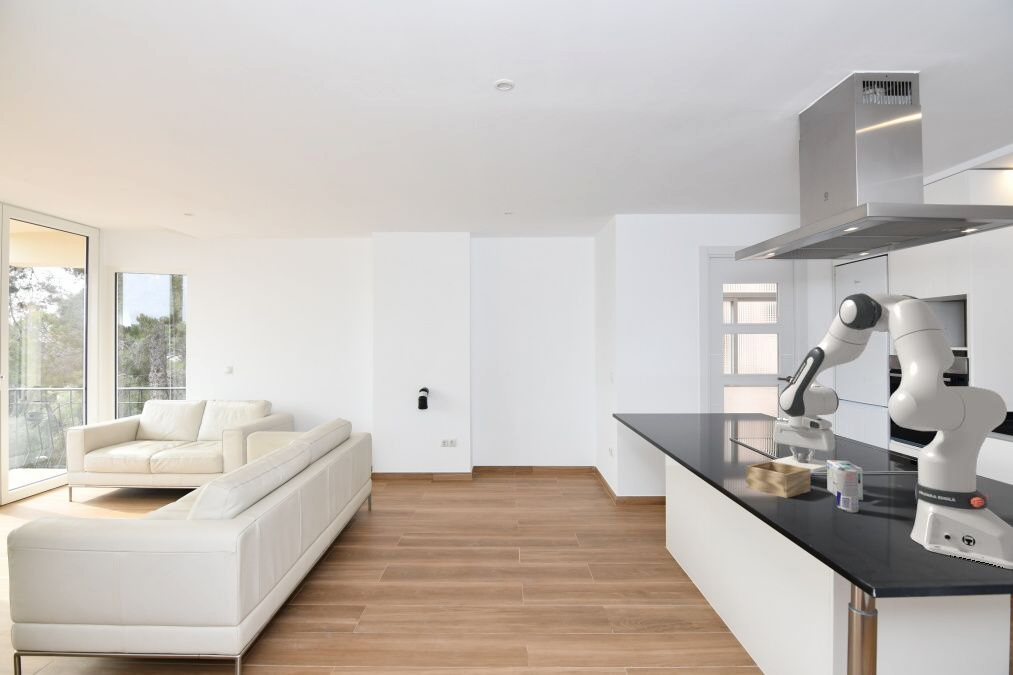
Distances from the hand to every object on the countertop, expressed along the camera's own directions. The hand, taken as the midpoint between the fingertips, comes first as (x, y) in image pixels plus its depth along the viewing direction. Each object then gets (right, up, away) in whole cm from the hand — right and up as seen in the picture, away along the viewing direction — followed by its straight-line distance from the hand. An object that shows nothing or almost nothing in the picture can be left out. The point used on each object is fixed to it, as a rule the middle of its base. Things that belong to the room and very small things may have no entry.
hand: (802, 459), depth 187 cm
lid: (0, -3, 0) cm, 3 cm away
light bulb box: (+3, -8, -18) cm, 20 cm away
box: (-15, -8, -12) cm, 21 cm away
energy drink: (-4, -8, -31) cm, 32 cm away
